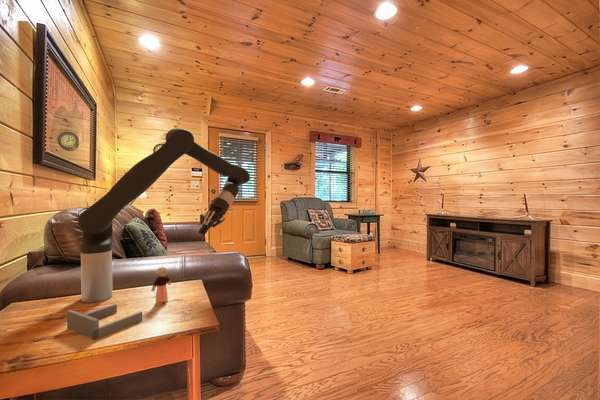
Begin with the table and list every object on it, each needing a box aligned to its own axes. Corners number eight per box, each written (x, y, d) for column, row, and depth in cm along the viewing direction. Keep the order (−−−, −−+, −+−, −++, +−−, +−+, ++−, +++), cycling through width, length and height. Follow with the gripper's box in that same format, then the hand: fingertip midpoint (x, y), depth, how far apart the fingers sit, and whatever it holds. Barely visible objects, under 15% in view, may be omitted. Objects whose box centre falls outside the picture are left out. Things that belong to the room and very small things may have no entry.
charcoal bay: (67, 328, 80) (66, 310, 80) (115, 311, 92) (114, 296, 92) (94, 339, 74) (94, 320, 74) (142, 320, 85) (142, 303, 85)
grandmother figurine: (159, 307, 95) (159, 269, 95) (149, 306, 96) (149, 269, 96) (174, 299, 103) (173, 264, 102) (164, 298, 103) (164, 263, 103)
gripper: (206, 196, 126) (184, 227, 115) (229, 196, 120) (208, 228, 109) (215, 208, 131) (194, 238, 120) (238, 208, 125) (218, 240, 114)
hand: (201, 233), depth 115 cm, fingers closed
